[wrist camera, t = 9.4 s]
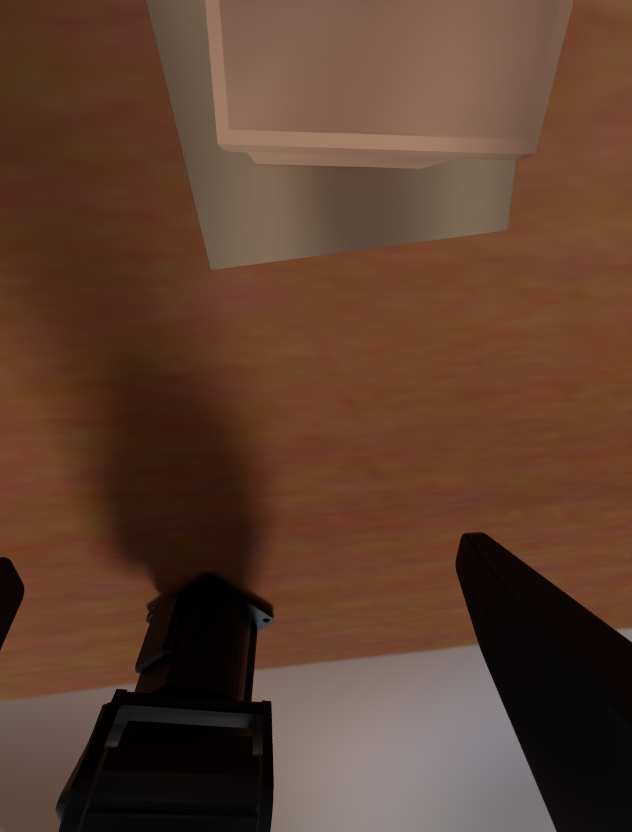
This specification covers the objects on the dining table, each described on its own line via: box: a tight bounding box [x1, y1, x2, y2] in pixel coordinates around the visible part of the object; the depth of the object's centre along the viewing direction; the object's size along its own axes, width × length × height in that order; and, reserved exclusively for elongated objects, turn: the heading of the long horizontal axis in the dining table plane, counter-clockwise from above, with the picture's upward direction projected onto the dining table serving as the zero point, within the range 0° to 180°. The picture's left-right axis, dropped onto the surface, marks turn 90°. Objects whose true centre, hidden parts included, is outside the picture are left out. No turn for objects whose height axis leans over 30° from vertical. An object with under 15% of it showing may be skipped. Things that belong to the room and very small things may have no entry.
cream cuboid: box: [205, 0, 574, 169], centre depth 8 cm, size 5×5×6 cm
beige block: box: [146, 0, 516, 270], centre depth 12 cm, size 10×10×4 cm
